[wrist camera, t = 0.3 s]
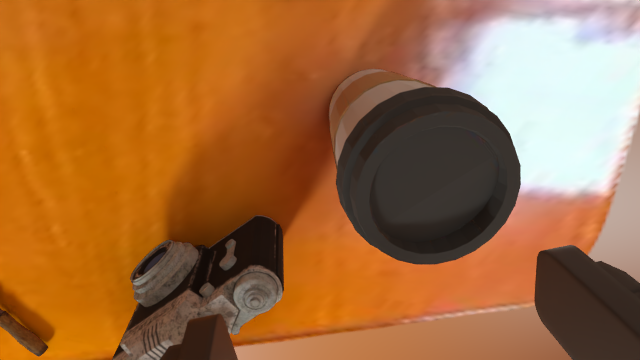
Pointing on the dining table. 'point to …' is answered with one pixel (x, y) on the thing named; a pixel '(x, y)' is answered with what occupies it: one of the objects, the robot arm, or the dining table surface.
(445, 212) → the coffee cup
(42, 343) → the can opener
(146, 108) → the dining table surface
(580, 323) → the robot arm
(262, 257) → the camera
